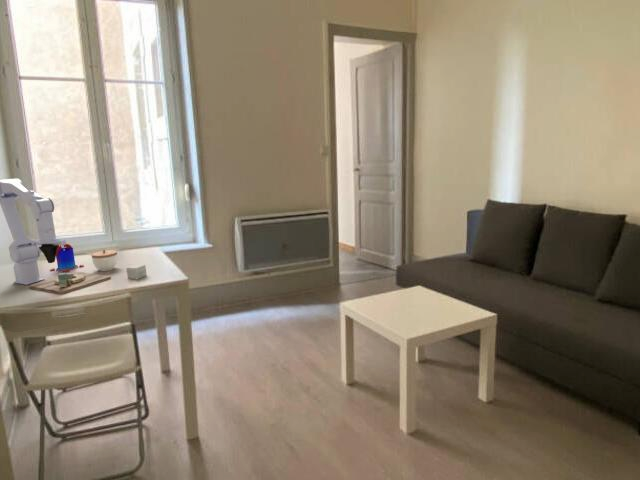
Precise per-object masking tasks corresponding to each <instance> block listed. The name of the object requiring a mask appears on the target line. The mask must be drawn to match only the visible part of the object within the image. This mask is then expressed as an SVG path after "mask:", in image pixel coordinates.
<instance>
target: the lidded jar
mask: <svg viewBox="0 0 640 480" xmlns="http://www.w3.org/2000/svg"><path fill="white" fill-rule="evenodd" d="M90 256H91V259H92V264H93V265H94V267H95V268H96V269H97V270H99V271H100V272H107V271H112V270H113V269H114V268H115V267H116V266H117V264H118V263H117V262H118V251H117V250H113V249H112V250H106V249H102V250H101V251H96V252H94V253H92V254H91V255H90Z"/></svg>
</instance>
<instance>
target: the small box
mask: <svg viewBox="0 0 640 480" xmlns="http://www.w3.org/2000/svg"><path fill="white" fill-rule="evenodd" d="M125 270H126V274H127V279H130V278H131V279H132V280H138V279H141V278H144V277H146V276H148V275H147V268H146V264H133V265H129V266H128V267H127V266H126V269H125Z"/></svg>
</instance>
